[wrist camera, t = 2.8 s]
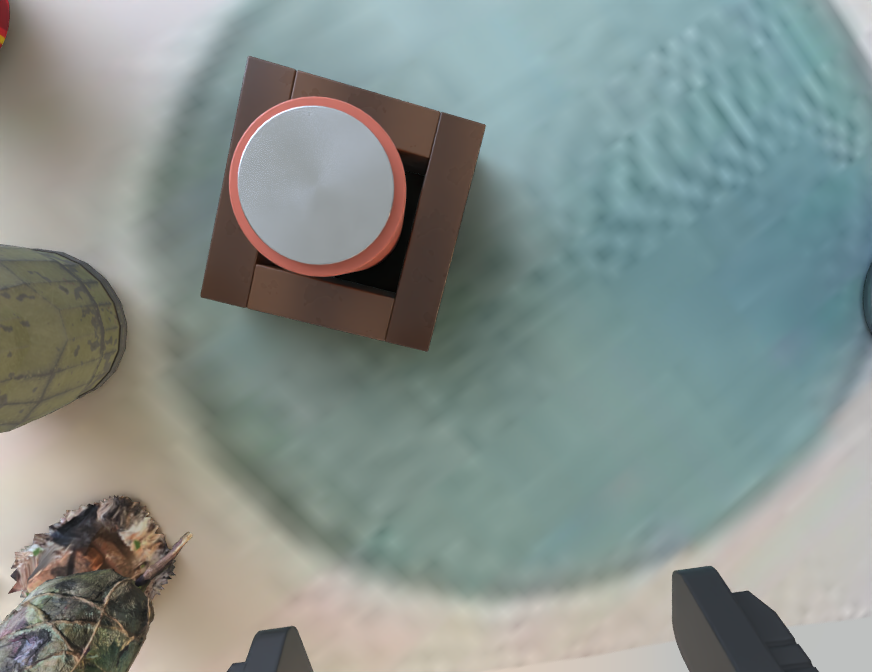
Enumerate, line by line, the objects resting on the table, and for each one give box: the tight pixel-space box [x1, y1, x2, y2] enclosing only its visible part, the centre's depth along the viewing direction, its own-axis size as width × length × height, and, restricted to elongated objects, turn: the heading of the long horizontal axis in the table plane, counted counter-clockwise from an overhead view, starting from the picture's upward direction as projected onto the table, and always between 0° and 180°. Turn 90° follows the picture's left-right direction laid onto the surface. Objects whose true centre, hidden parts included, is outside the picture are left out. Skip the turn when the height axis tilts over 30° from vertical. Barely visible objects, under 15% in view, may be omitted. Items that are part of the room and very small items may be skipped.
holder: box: [200, 56, 486, 352], centre depth 27 cm, size 11×11×5 cm
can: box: [229, 96, 406, 277], centre depth 23 cm, size 6×6×13 cm
